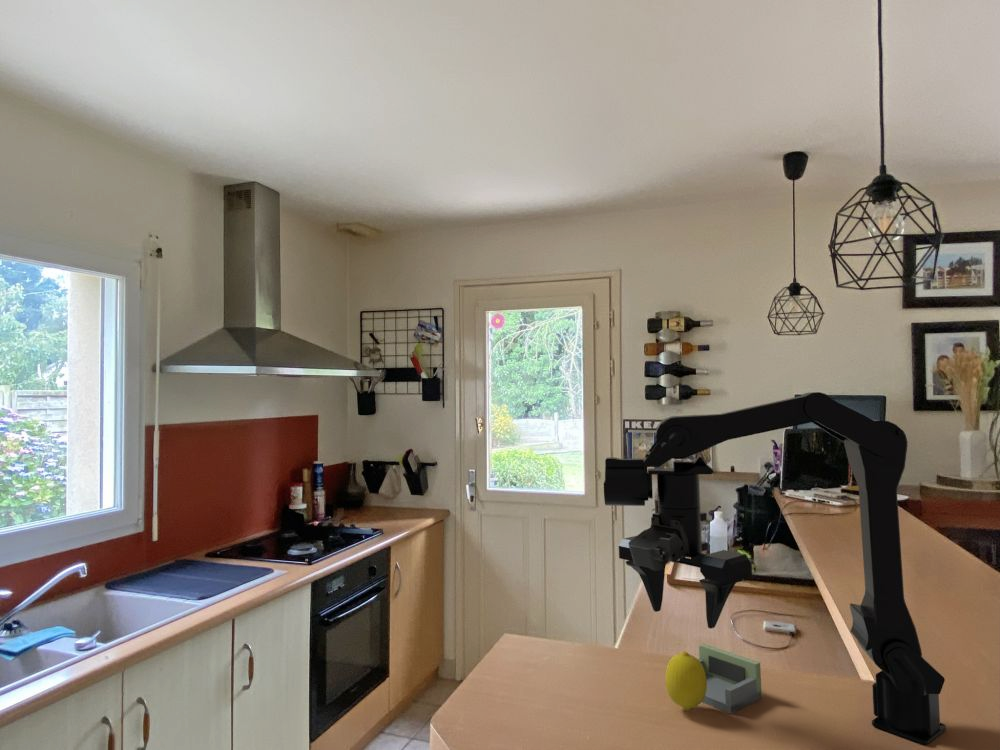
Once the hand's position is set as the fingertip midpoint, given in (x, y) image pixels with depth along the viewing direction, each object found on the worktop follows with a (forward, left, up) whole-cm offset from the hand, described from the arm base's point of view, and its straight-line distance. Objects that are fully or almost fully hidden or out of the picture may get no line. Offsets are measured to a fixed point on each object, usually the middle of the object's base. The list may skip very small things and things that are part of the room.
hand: (683, 619), depth 91 cm
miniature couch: (+1, -8, -13) cm, 15 cm away
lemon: (0, 0, -13) cm, 13 cm away
